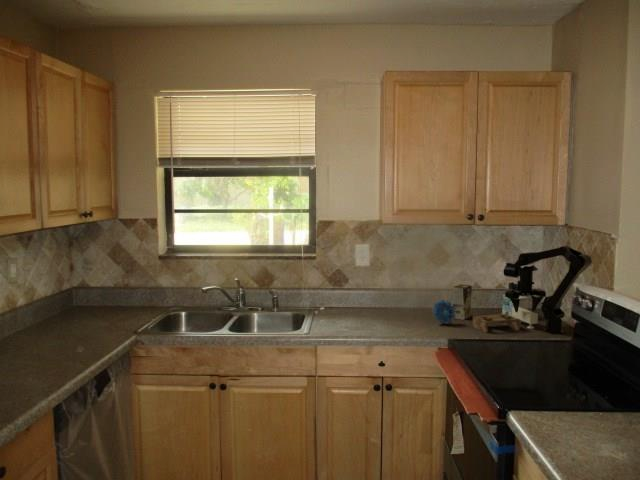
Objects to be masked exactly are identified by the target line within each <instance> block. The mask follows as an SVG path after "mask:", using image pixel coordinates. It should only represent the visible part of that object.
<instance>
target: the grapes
mask: <svg viewBox="0 0 640 480" xmlns="http://www.w3.org/2000/svg"><path fill="white" fill-rule="evenodd" d="M433 307H434V308H432V310H431V312H432V314H433V315H434V320H435V321H439V322H440V324H441V325H445V324H446V323H447V324H451V323H452V322H453V319H454V320H455V316H456V315H455V313H453V312H455V308H454V307H453V305H452V304H451V302H450V301H449V300H446V301H445V300H444V299H440V300H438V302H435V303H433Z"/></svg>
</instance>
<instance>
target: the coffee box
mask: <svg viewBox="0 0 640 480" xmlns="http://www.w3.org/2000/svg"><path fill="white" fill-rule="evenodd" d="M472 288H473V286H472V285H470V284H458V285H455V286H453V290H452V291H453V293H452V306H453V307H454V308H455V312H453V313H455V315H456V316H455V318H454V320H455V319H457V320H462V321H465V320H467V319H468V318H470V317H471V316H472V314H471V313H472V291H473V289H472Z"/></svg>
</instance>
